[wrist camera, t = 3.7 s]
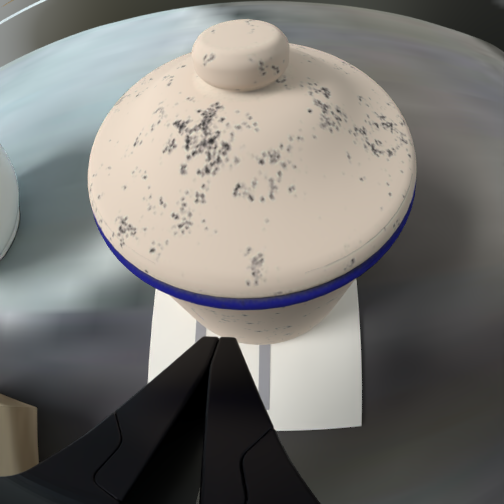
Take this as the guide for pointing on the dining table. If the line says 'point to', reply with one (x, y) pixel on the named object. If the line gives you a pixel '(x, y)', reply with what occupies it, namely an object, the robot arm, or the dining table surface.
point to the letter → (284, 364)
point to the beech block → (17, 436)
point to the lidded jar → (8, 203)
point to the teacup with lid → (252, 180)
